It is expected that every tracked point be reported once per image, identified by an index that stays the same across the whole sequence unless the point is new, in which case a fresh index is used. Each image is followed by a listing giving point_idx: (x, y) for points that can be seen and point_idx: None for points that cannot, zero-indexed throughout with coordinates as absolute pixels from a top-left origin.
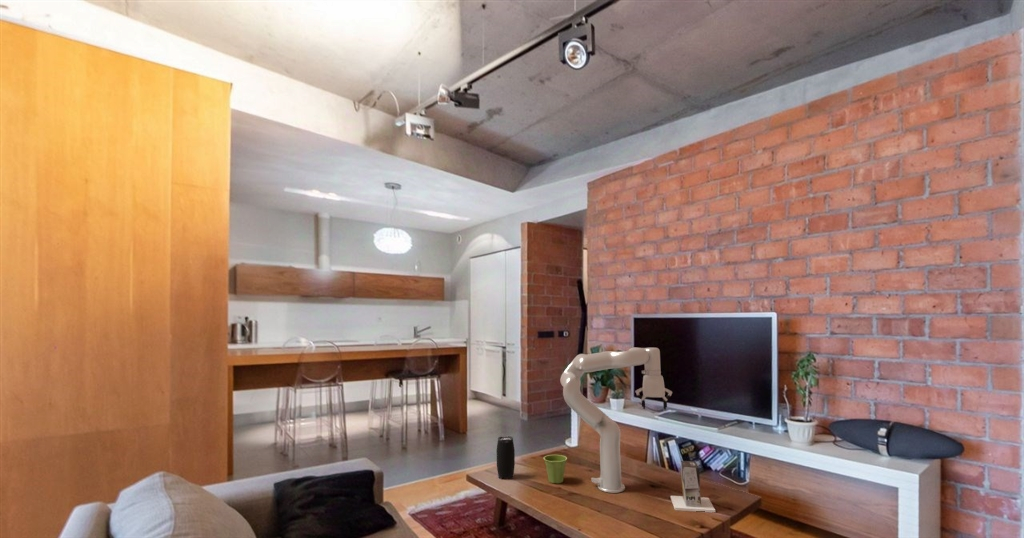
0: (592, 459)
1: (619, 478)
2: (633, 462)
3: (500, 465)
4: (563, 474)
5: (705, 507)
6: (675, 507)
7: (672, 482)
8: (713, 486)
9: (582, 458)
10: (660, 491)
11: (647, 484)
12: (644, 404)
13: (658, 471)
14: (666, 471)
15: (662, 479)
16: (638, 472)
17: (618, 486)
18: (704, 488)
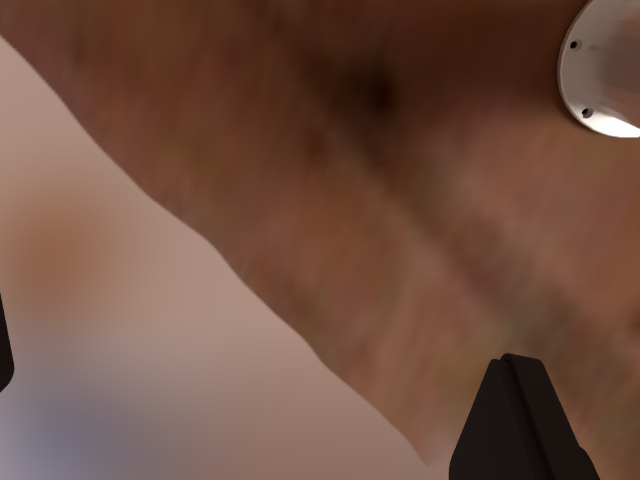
0: None
1: (637, 12)
2: (380, 396)
3: None
4: None
5: None
6: None
7: (264, 141)
8: (76, 82)
9: (610, 462)
10: (363, 4)
11: (403, 114)
12: (550, 455)
13: (295, 285)
14: (258, 283)
15: (304, 183)
16: (396, 279)
17: (628, 2)
18: (123, 53)
